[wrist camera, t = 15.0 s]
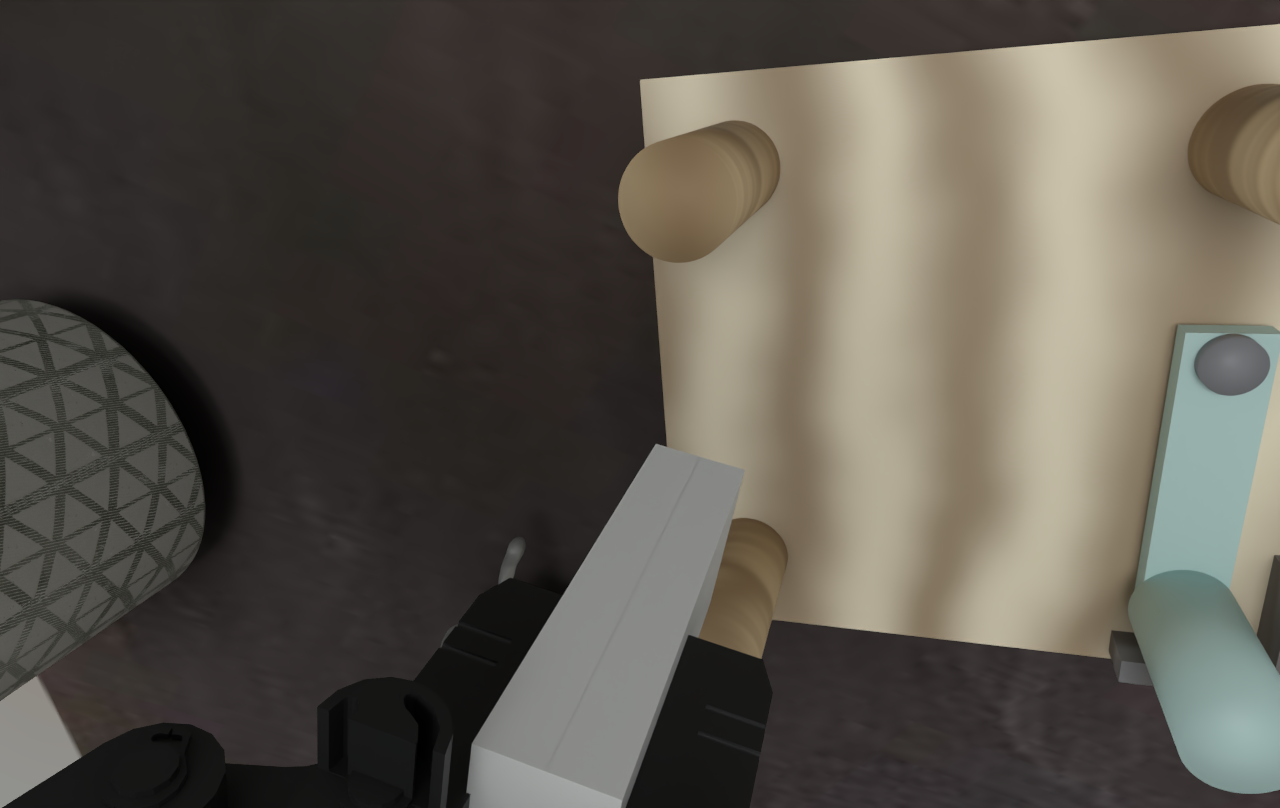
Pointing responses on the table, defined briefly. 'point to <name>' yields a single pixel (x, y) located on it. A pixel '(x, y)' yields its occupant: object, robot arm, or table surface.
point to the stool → (959, 324)
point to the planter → (83, 487)
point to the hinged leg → (1209, 560)
